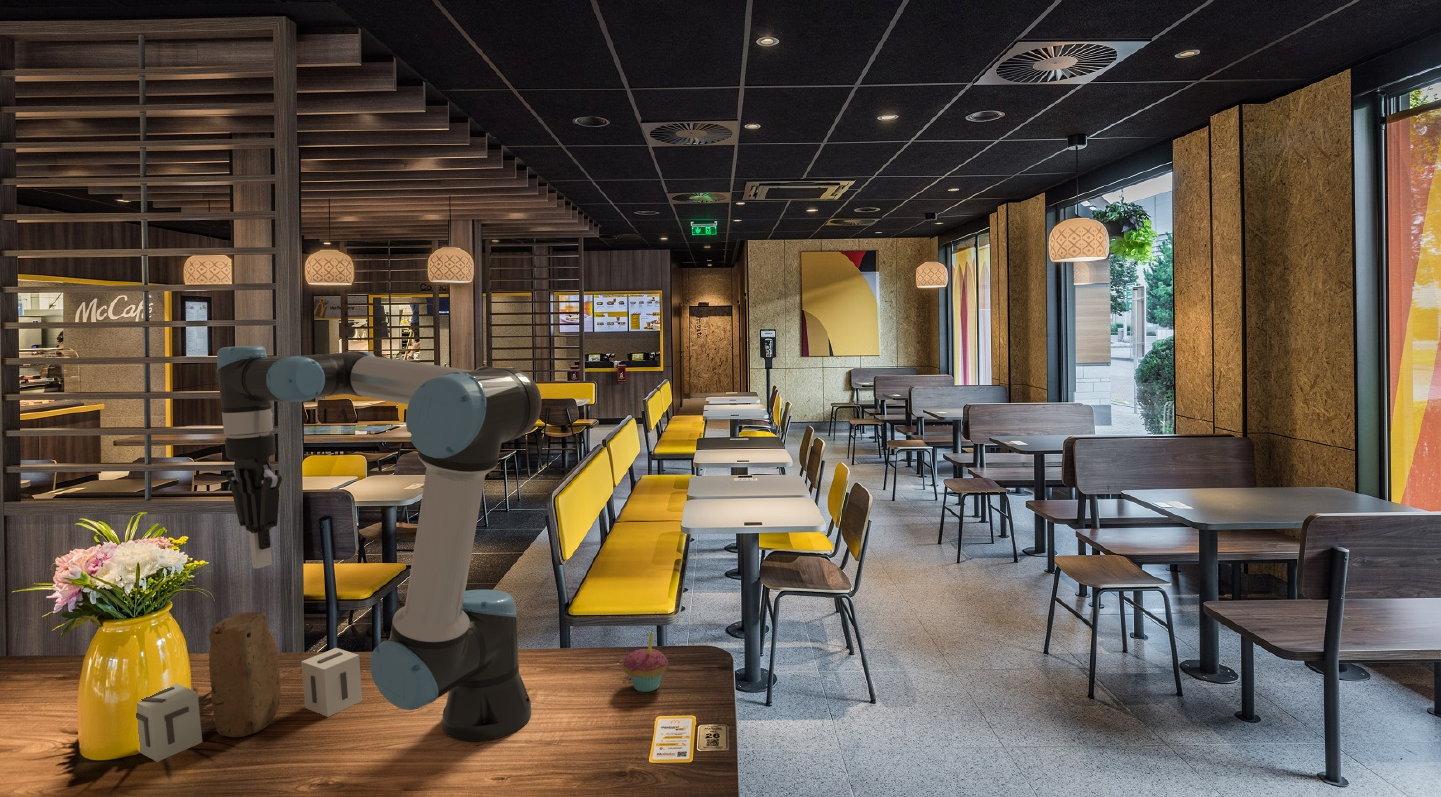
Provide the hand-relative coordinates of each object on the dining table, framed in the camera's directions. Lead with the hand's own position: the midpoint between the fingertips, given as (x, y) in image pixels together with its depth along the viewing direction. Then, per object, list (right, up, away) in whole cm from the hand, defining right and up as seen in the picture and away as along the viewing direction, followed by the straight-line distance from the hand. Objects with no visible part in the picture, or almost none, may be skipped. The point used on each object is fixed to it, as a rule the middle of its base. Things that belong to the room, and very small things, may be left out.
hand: (262, 565), depth 145 cm
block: (-2, -29, 0) cm, 29 cm away
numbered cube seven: (-12, -29, -6) cm, 32 cm away
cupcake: (+67, -26, +12) cm, 73 cm away
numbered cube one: (+9, -27, +7) cm, 30 cm away
